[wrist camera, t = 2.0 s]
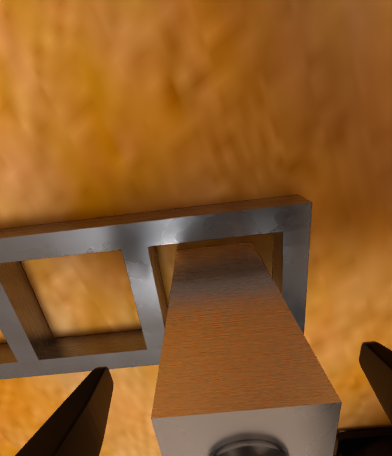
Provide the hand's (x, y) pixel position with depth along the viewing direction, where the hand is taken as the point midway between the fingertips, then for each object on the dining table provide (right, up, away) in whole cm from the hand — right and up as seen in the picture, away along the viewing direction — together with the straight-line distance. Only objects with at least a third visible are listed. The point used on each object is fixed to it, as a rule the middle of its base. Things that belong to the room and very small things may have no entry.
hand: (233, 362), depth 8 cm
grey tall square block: (0, +2, +5) cm, 5 cm away
